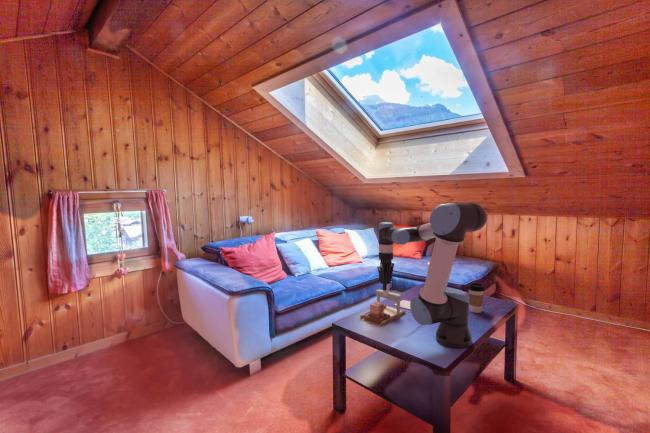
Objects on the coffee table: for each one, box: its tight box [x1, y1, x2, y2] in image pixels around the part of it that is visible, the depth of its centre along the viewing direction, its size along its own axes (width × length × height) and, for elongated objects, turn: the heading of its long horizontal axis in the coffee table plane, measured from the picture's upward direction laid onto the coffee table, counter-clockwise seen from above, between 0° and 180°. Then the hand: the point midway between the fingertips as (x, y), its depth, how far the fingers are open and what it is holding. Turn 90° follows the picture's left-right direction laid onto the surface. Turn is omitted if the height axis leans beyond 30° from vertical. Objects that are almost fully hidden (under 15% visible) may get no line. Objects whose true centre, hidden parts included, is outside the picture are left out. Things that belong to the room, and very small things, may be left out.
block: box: [369, 301, 384, 319], centre depth 167 cm, size 5×5×8 cm
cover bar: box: [375, 289, 402, 314], centre depth 174 cm, size 3×14×10 cm, turn 46°
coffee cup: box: [467, 282, 485, 314], centre depth 180 cm, size 8×8×15 cm
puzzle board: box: [357, 303, 409, 328], centre depth 172 cm, size 26×14×4 cm, turn 136°
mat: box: [393, 299, 411, 311], centre depth 191 cm, size 11×11×1 cm
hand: (385, 295), depth 172 cm, fingers closed
